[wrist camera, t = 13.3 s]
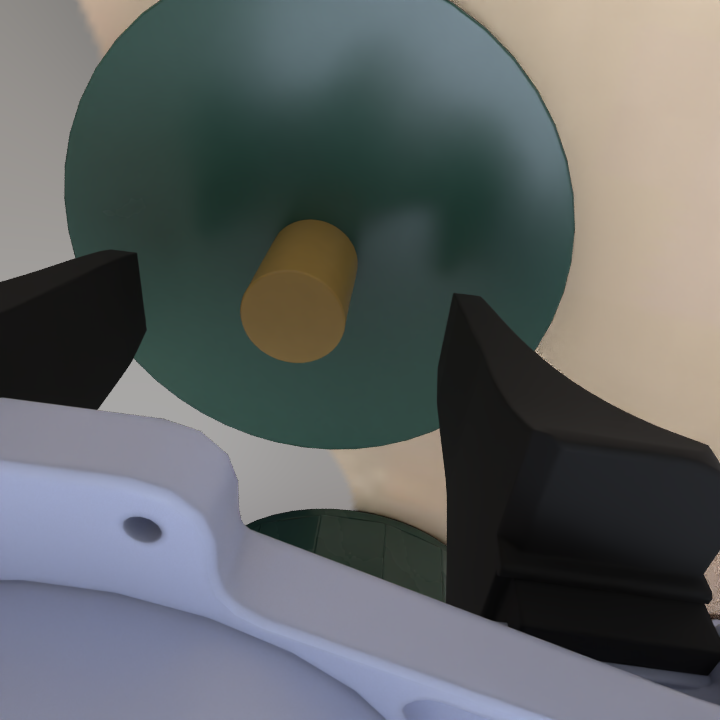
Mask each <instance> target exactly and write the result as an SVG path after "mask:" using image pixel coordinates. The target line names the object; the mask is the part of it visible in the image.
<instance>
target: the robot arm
mask: <svg viewBox="0 0 720 720" xmlns="http://www.w3.org/2000/svg"><path fill="white" fill-rule="evenodd" d="M146 331H147V327H146V319H145V311H144V303H143V295H142V287H141V279H140V271H139V263H138V255H137V253H135V252H127V251H119V250H112V249H110V250H104V251H99V252H95V253H91V254H88V255H84V256H81V257H78V258H75V259H72V260H69V261H66V262H63V263H60V264H57V265H54V266H51V267H48V268H45V269H42V270H39V271H36V272H32V273H29V274H26V275H23V276H19V277H16V278H13V279H9V280H6V281H2V282H0V720H720V620H719V619H713V620H711V617H710V615H709V613H708V611H707V609H706V606H705V604H709V603H710V601H711V600H712V591H711V589H710V587H709V585H708V583H707V581H706V579H705V576H704V572H705V571H706V570H707V568H708V567H709V565H710V564H711V562H712V561H713V559H714V558H715V556H716V555H717V554H718V552H719V551H720V463H719V461H718V459H717V458H716V456H715V454H714V453H713V451H712V450H711V448H710V447H709V446H708V445H706V444H703V443H700V442H698V441H695V440H692V439H690V438H687V437H684V436H682V435H679V434H676V433H673V432H671V431H668V430H665V429H663V428H660V427H658V426H655V425H653V424H651V423H648V422H646V421H644V420H642V419H640V418H638V417H635V416H633V415H631V414H629V413H627V412H625V411H623V410H621V409H619V408H617V407H615V406H613V405H611V404H609V403H607V402H606V401H604V400H602V399H601V398H599V397H597V396H595V395H594V394H592V393H590V392H588V391H587V390H585V389H584V388H582V387H580V386H579V385H577V384H576V383H574V382H573V381H571V380H570V379H569V378H567V377H566V376H564V375H563V374H562V373H560V372H559V371H558V370H556V369H555V368H553V367H552V366H551V365H550V364H548V363H547V362H546V361H545V360H543V359H542V358H541V357H540V356H539V355H538V354H537V353H536V352H534V351H533V350H532V349H531V348H530V347H529V346H528V345H527V344H526V343H525V342H524V341H523V340H522V339H520V338H519V337H518V336H517V335H516V334H515V332H514V331H513V330H512V329H511V328H510V327H509V326H508V325H507V324H506V323H505V322H504V321H503V320H502V319H501V318H500V316H499V315H498V314H497V313H496V312H495V311H494V310H493V309H492V308H491V307H490V305H489V304H488V303H487V302H486V301H485V300H484V299H483V298H482V297H481V296H475V295H467V294H459V293H453V297H452V301H451V306H450V311H449V316H448V320H447V325H446V330H445V335H444V340H443V344H442V349H441V354H440V359H439V363H438V370H437V410H438V419H439V427H440V436H441V444H442V452H443V460H444V469H445V477H446V490H447V572H446V603H444V602H441V601H439V600H436V599H433V598H431V597H428V596H425V595H423V594H420V593H417V592H415V591H412V590H409V589H407V588H404V587H401V586H399V585H396V584H394V583H391V582H388V581H386V580H383V579H380V578H378V577H375V576H372V575H370V574H367V573H364V572H362V571H359V570H356V569H354V568H351V567H349V566H346V565H343V564H341V563H338V562H335V561H333V560H330V559H327V558H325V557H322V556H319V555H317V554H314V553H312V552H309V551H306V550H304V549H301V548H298V547H296V546H293V545H290V544H288V543H285V542H282V541H280V540H277V539H274V538H272V537H269V536H267V535H264V534H261V533H259V532H256V531H253V530H251V529H249V528H248V527H247V526H246V525H244V524H243V522H242V520H241V516H240V511H239V496H238V495H239V494H238V479H237V477H236V474H235V472H234V469H233V466H232V464H231V461H230V459H229V456H228V454H227V453H226V452H224V451H223V450H222V449H221V448H220V447H218V446H217V445H216V444H215V443H214V442H213V441H212V440H210V439H209V438H208V437H207V436H205V434H203V433H202V432H201V431H199V430H196V429H193V428H190V427H187V426H184V425H181V424H177V423H175V422H172V421H169V420H166V419H162V418H153V417H146V416H139V415H130V414H124V413H116V412H108V411H101V410H98V408H99V407H100V405H101V404H102V403H103V401H104V400H105V399H106V397H107V396H108V394H109V393H110V392H111V390H112V389H113V388H114V386H115V385H116V384H117V382H118V381H119V379H120V378H121V377H122V375H123V373H124V372H125V371H126V369H127V368H128V366H129V365H130V363H131V362H132V360H133V358H134V356H135V354H136V352H137V350H138V348H139V346H140V344H141V342H142V340H143V338H144V335H145V333H146Z"/></svg>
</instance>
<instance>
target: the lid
mask: <svg viewBox="0 0 720 720" xmlns="http://www.w3.org/2000/svg"><path fill="white" fill-rule="evenodd" d="M64 199H65V207H66V214H67V223H68V230H69V235H70V238H71V242H72V246H73V250H74V254H75V258H78V257H81V256H84V255H88V254H91V253H95V252H99V251H104V250H110V249H112V250H119V251H127V252H135V253H137V255H138V263H139V271H140V279H141V287H142V295H143V303H144V311H145V319H146V327H147V331H146V333H145V335H144V338H143V340H142V342H141V344H140V346H139V348H138V350H137V352H136V354H135V356H134V359H135V360H136V362H138V363H139V364H140V365H141V366H142V367H143V368H144V369H145V370H146V371H147V372H148V373H149V374H150V375H151V376H152V377H153V378H154V379H155V380H156V381H157V382H159V383H160V384H161V385H163V386H164V387H165V388H167V389H168V390H169V391H170V392H172V393H173V394H174V395H176V396H177V397H178V398H179V399H181V400H182V401H184V402H186V403H187V404H189V405H190V406H192V407H193V408H195V409H197V410H198V411H200V412H201V413H203V414H205V415H207V416H209V417H211V418H213V419H215V420H217V421H219V422H221V423H223V424H225V425H227V426H230V427H232V428H235V429H237V430H240V431H242V432H245V433H247V434H250V435H253V436H256V437H260V438H263V439H267V440H270V441H274V442H278V443H283V444H289V445H294V446H300V447H307V448H319V449H360V448H368V447H377V446H383V445H388V444H392V443H397V442H401V441H406V440H409V439H412V438H415V437H418V436H421V435H424V434H427V433H430V432H433V431H435V430H437V429H439V428H440V427H439V419H438V410H437V370H438V363H439V359H440V354H441V349H442V344H443V340H444V335H445V330H446V325H447V320H448V316H449V311H450V306H451V301H452V297H453V293H459V294H467V295H475V296H481V297H482V298H483V299H484V300H485V301H486V302H487V303H488V304H489V305H490V307H491V308H492V309H493V310H494V311H495V312H496V313H497V314H498V315H499V316H500V318H501V319H502V320H503V321H504V322H505V323H506V324H507V325H508V326H509V327H510V328H511V329H512V330H513V331H514V332H515V334H516V335H517V336H518V337H519V338H520V339H522V340H523V341H524V342H525V343H526V344H527V345H528V346H529V347H530V348H531V349H532V350H533V351H535V349H536V348H537V347H538V345H539V343H540V341H541V340H542V338H543V336H544V334H545V333H546V331H547V329H548V327H549V326H550V324H551V322H552V320H553V318H554V315H555V313H556V310H557V308H558V305H559V303H560V300H561V298H562V295H563V293H564V289H565V285H566V281H567V277H568V273H569V269H570V266H571V261H572V252H573V242H574V233H575V218H574V194H573V189H572V183H571V178H570V172H569V167H568V161H567V158H566V155H565V152H564V149H563V146H562V143H561V140H560V137H559V134H558V131H557V128H556V125H555V123H554V121H553V119H552V117H551V115H550V113H549V111H548V109H547V107H546V105H545V103H544V102H543V100H542V98H541V96H540V94H539V92H538V90H537V89H536V87H535V86H534V84H533V83H532V81H531V80H530V79H529V77H528V76H527V74H526V73H525V72H524V70H523V69H522V67H521V66H520V65H519V63H518V62H517V60H516V59H515V58H514V57H513V56H512V54H511V53H510V52H509V51H508V50H507V49H506V48H505V47H504V46H503V45H502V44H501V43H500V42H499V41H498V40H497V39H496V38H495V37H494V36H493V35H492V34H491V33H490V32H489V31H488V30H487V29H486V28H485V27H484V26H483V25H482V24H480V23H479V22H478V21H476V20H475V19H474V18H472V17H471V16H470V15H469V14H467V13H466V12H465V11H463V10H462V9H461V8H459V7H458V6H457V5H456V4H454V3H453V2H452V1H450V0H160V1H158V2H157V3H156V4H154V5H153V6H151V7H150V8H149V9H147V10H146V11H144V12H143V13H142V14H141V15H140V16H139V17H138V18H137V19H136V20H135V21H134V22H133V23H132V24H131V25H130V26H129V27H128V28H127V29H126V30H125V31H124V32H123V33H122V34H121V35H120V36H119V37H118V38H117V39H116V40H115V42H114V43H113V45H112V46H111V48H110V49H109V50H108V52H107V53H106V55H105V56H104V57H103V59H102V60H101V62H100V63H99V64H98V66H97V67H96V69H95V71H94V73H93V75H92V77H91V79H90V81H89V83H88V85H87V87H86V89H85V91H84V93H83V95H82V97H81V99H80V102H79V105H78V109H77V112H76V115H75V118H74V121H73V125H72V128H71V131H70V136H69V142H68V149H67V156H66V162H65V197H64Z"/></svg>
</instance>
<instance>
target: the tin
mask: <svg viewBox="0 0 720 720" xmlns="http://www.w3.org/2000/svg"><path fill="white" fill-rule="evenodd" d="M246 526H247V527H248V528H249V529H251V530H253V531H256V532H259V533H261V534H264V535H267V536H269V537H272V538H274V539H277V540H280V541H282V542H285V543H288V544H290V545H293V546H296V547H298V548H301V549H304V550H306V551H309V552H312V553H314V554H317V555H319V556H322V557H325V558H327V559H330V560H333V561H335V562H338V563H341V564H343V565H346V566H349V567H351V568H354V569H356V570H359V571H362V572H364V573H367V574H370V575H372V576H375V577H378V578H380V579H383V580H386V581H388V582H391V583H394V584H396V585H399V586H401V587H404V588H407V589H409V590H412V591H415V592H417V593H420V594H423V595H425V596H428V597H431V598H433V599H436V600H439V601H441V602H444V603H446V572H447V546H446V545H444V544H443V543H441V542H440V541H438V540H437V539H435V538H434V537H432V536H430V535H428V534H426V533H424V532H422V531H420V530H418V529H416V528H414V527H412V526H409V525H407V524H404V523H402V522H399V521H396V520H393V519H389V518H386V517H382V516H379V515H375V514H369V513H364V512H358V511H351V510H340V509H307V510H297V511H290V512H285V513H280V514H275V515H271V516H268V517H266V518H262V519H259V520H256V521H254V522H252V523H250V524H248V525H246Z"/></svg>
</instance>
